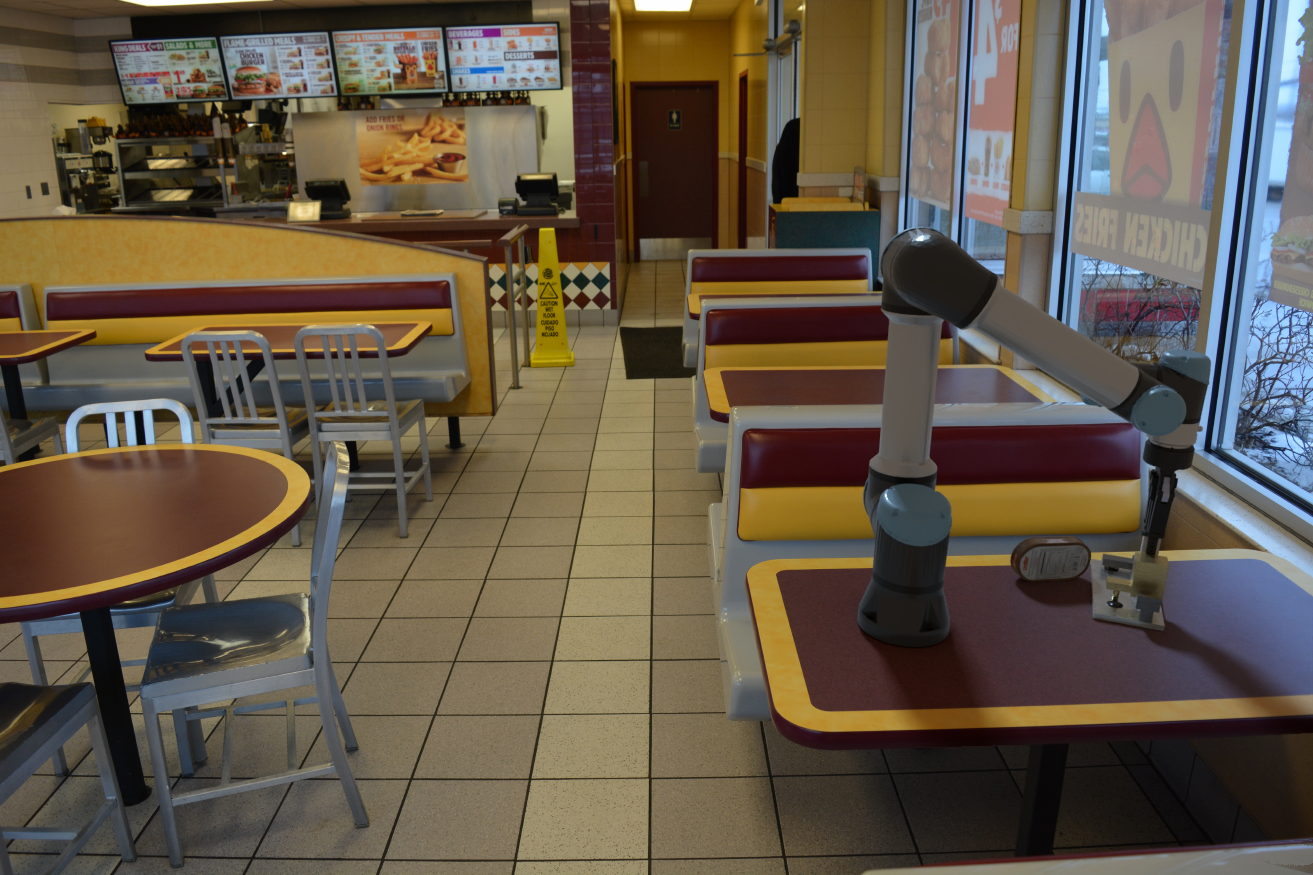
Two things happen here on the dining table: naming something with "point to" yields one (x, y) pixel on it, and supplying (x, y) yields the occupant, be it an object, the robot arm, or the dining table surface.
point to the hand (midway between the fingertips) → (1146, 568)
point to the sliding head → (1142, 577)
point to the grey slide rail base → (1143, 602)
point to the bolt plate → (1125, 605)
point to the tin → (1050, 558)
